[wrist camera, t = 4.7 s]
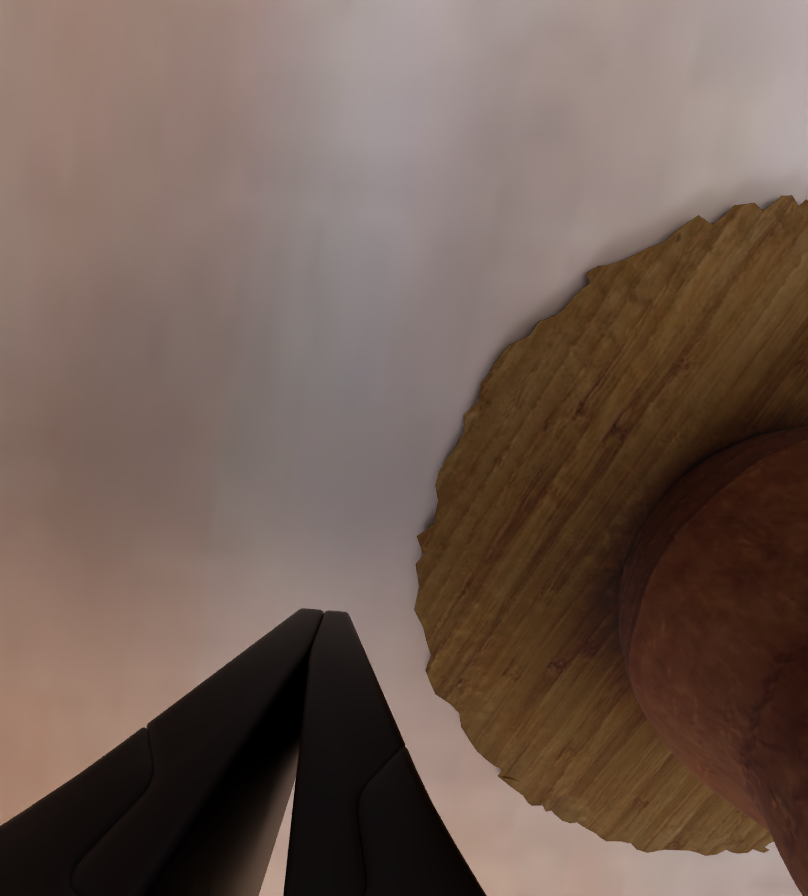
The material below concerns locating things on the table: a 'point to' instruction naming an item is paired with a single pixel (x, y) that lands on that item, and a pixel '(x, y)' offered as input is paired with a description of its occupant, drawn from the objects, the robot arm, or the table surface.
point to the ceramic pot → (642, 548)
